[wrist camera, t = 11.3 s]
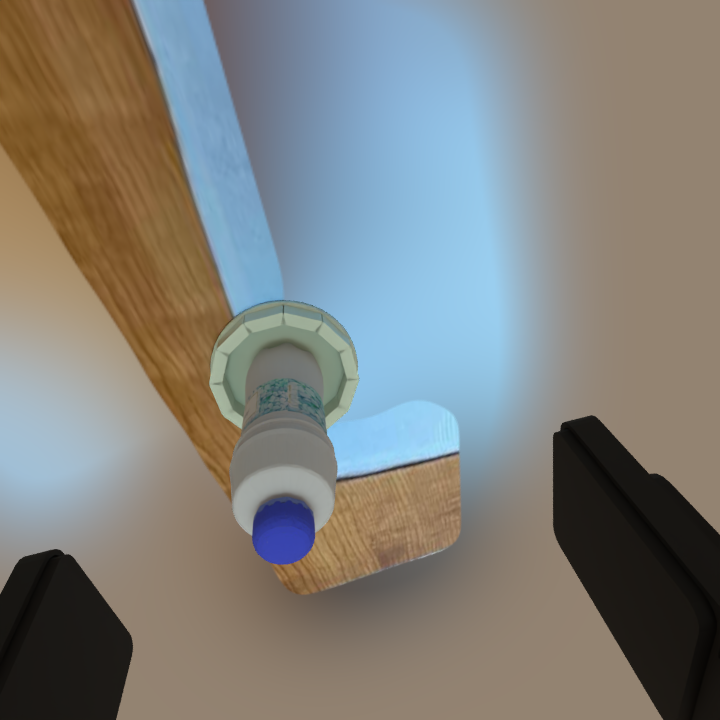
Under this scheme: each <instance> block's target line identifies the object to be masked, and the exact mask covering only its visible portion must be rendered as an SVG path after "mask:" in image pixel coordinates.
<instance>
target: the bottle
mask: <svg viewBox="0 0 720 720" xmlns="http://www.w3.org/2000/svg"><path fill="white" fill-rule="evenodd" d="M323 397H324V386H323V376H322V372H321V369H320V367H319V365H318V363H317V361H316V359H315V357H314V356H313V355H312V354H311V353H310V352H309V351H303V350H301V349H299V348H297V347H295V346H294V345H293V344H291V343H283V344H281V345H279V346H277V347H274V348H270V349H268V348H265V349H263V350H261V351H260V352H259V353H258V355H257V356H256V357H255V359H254V361H253V362H252V364H251V365H250V367H249V370H248V372H247V376H246V384H245V409H244V417H243V424H242V432H241V437H240V439H239V440H238V442H237V444H236V446H235V449H234V451H233V458H232V461H231V464H230V480H231V495H232V510H233V513H234V516H235V519H236V520H237V522H238V523H239V525H240V526H241V527H242V528H243V529H244V530H245V531H246V532H247V533H249V534H250V535H252V540H253V545H254V547H255V550H256V551H257V553H258V554H259V555H260V556H261V557H262V558H263V559H265V560H266V561H268V562H270V563H274V564H290V563H294V562H296V561H298V560H300V559H302V558H303V557H304V556H305V555H307V553H308V552H309V551H310V549H311V548H312V546H313V543H314V539H315V533H316V532H317V531H318V530H320V529H321V528H322V527H323V526H324V525H325V524H326V523H327V521H328V520H329V518H330V516H331V514H332V512H333V509H334V502H335V488H336V477H337V461H336V458H335V453H334V448H333V445H332V443H331V441H330V439H329V437H328V436H327V430H326V422H325V413H324V405H323Z"/></svg>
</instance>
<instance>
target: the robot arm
mask: <svg viewBox="0 0 720 720" xmlns="http://www.w3.org/2000/svg"><path fill="white" fill-rule="evenodd" d="M553 527H554V533H555V536H556V539H557V541H558V543H559V545H560V547H561V549H562V550H563V552H564V554H565V556H566V557H567V559H568V561H569V562H570V564H571V566H572V567H573V569H574V571H575V572H576V574H577V576H578V577H579V579H580V581H581V582H582V584H583V586H584V587H585V589H586V591H587V593H588V594H589V596H590V598H591V599H592V601H593V603H594V604H595V606H596V608H597V609H598V611H599V613H600V614H601V616H602V618H603V619H604V621H605V623H606V624H607V626H608V628H609V630H610V631H611V633H612V635H613V636H614V638H615V640H616V641H617V643H618V645H619V646H620V648H621V650H622V651H623V653H624V655H625V657H626V658H627V660H628V661H629V663H630V665H631V667H632V668H633V670H634V672H635V673H636V675H637V677H638V678H639V680H640V682H641V684H642V685H643V687H644V689H645V690H646V692H647V694H648V695H649V697H650V699H651V700H652V702H653V703H654V705H655V707H656V709H657V710H658V712H659V714H660V715H661V717H662V718H663V720H720V535H719V534H718V532H717V531H716V530H715V529H714V528H713V527H712V526H711V525H710V524H709V523H708V522H707V521H706V520H705V519H704V518H703V517H702V516H701V515H700V514H699V513H698V512H697V510H696V509H695V508H694V507H693V506H692V505H691V504H690V503H689V502H688V501H687V500H686V499H685V498H684V497H683V496H682V495H681V494H680V493H679V492H678V490H677V489H676V488H675V487H674V486H673V485H672V484H671V483H670V482H669V481H667V480H666V479H665V478H664V477H663V476H661V475H658V474H649V473H648V472H647V471H646V470H645V469H644V468H643V467H642V466H641V465H640V464H639V463H638V462H637V461H636V459H635V458H634V457H633V456H632V455H631V454H630V453H629V452H628V451H627V449H626V448H625V447H624V446H623V445H622V444H621V443H620V442H619V441H618V440H617V439H616V438H615V436H614V435H612V433H611V432H610V431H609V430H608V429H607V428H606V427H605V426H604V424H603V423H602V422H601V421H600V420H598V418H596V417H595V416H592V415H591V416H587V417H584V418H579V419H575V420H571V421H567V422H564V423H562V425H561V430H560V431H559V432H555V433H554V435H553ZM132 652H133V643H132V638H131V635H130V633H129V632H128V631H127V629H126V628H125V626H124V625H123V624H122V623H121V621H120V620H119V618H118V617H117V616H116V614H115V613H114V612H113V610H112V609H111V608H110V606H109V605H108V604H107V602H106V601H105V600H104V598H103V597H102V595H101V594H100V593H99V591H98V590H97V589H96V587H95V586H94V585H93V583H92V582H91V581H90V579H89V578H88V577H87V575H86V574H85V572H84V571H83V570H82V568H81V567H80V566H79V564H78V563H77V562H76V560H75V559H74V558H73V557H72V556H71V555H69V554H68V555H65V554H64V553H63V552H62V551H61V550H58V549H54V550H49V551H45V552H42V553H37V554H33V555H29V556H25V557H23V558H22V559H20V560H19V561H18V563H17V564H16V565H15V567H14V569H13V571H12V573H11V575H10V577H9V579H8V581H7V583H6V585H5V586H4V588H3V590H2V592H1V594H0V720H116V718H117V713H118V709H119V705H120V701H121V697H122V693H123V689H124V685H125V681H126V677H127V673H128V669H129V665H130V661H131V657H132Z"/></svg>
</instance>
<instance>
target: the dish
mask: <svg viewBox="0 0 720 720" xmlns="http://www.w3.org/2000/svg"><path fill="white" fill-rule="evenodd" d="M283 343H291V344H293V345H294V346H295V347H297V348H299V349H301V350H303V351H309V352H310V353H311V354H312V355H313V356H314V357H315V359H316V361H317V363H318V365H319V367H320V369H321V372H322V376H323V386H324V397H323V405H324V413H325V422H326V430H327V429H328V428H329V427H330V426H332V425H333V424H334V423H335V422H336V421H337V420H338V419H340V418H341V417H342V416H343V415H344V414H345V413H346V412H348V410H349V408H350V405H351V402H352V399H353V397H354V394H355V391H356V388H357V385H358V382H359V376H358V361H357V356H356V351H355V348H354V345H353V342H352V340H351V338H350V336H349V335H348V333H347V331H346V330H345V329H344V327H343V326H342V325H341V324H340V323H339V322H338V321H337V320H336V319H335V318H334V317H332V316H331V315H330V314H328V313H327V312H325V311H323V310H322V309H319V308H317V307H315V306H313V305H309V304H306V303H302V302H297V301H285V300H282V301H271V302H266V303H262V304H259V305H256V306H253V307H251V308H249V309H247V310H245V311H243V312H242V313H240V314H239V315H237V316H236V317H235V318H234V319H232V320H231V321H230V322H229V323H228V324H227V325H226V327H225V328H224V329H223V330H222V332H221V334H220V335H219V337H218V339H217V341H216V343H215V346H214V349H213V353H212V356H211V365H210V367H211V377H210V382H209V385H210V388H211V390H212V392H213V395H214V397H215V399H216V401H217V404H218V406H219V408H220V411H221V413H222V415H223V416H224V417H225V418H227V419H228V420H230V421H231V422H232V423H234V424H235V425H236V426H238V427H239V428H241V429H242V424H243V417H244V409H245V384H246V376H247V372H248V370H249V367H250V365H251V364H252V362H253V361H254V359H255V357H256V356H257V355H258V353H259V352H260V351H261V350H263V349H265V348H268V349H270V348H274V347H277V346H279V345H281V344H283Z"/></svg>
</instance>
